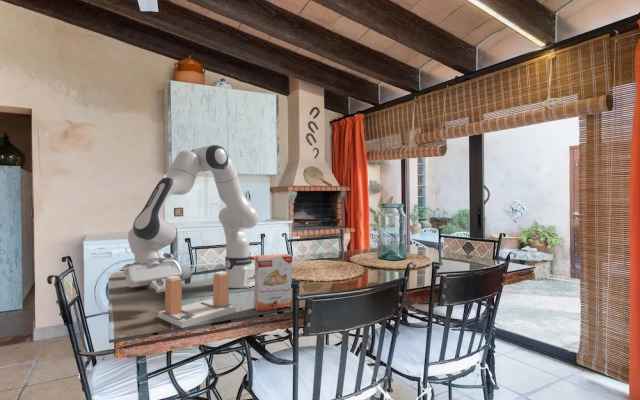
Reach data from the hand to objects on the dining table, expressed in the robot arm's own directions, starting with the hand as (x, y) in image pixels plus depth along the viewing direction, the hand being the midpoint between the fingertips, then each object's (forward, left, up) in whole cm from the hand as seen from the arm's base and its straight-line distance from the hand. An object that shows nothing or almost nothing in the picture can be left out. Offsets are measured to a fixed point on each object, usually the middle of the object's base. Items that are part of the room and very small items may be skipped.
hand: (161, 291), depth 136 cm
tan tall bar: (-16, +14, -6) cm, 22 cm away
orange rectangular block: (0, +8, -6) cm, 10 cm away
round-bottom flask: (-12, -42, -9) cm, 45 cm away
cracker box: (-32, +26, -9) cm, 42 cm away
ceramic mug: (-34, -46, -9) cm, 57 cm away
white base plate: (-8, +11, -8) cm, 16 cm away
